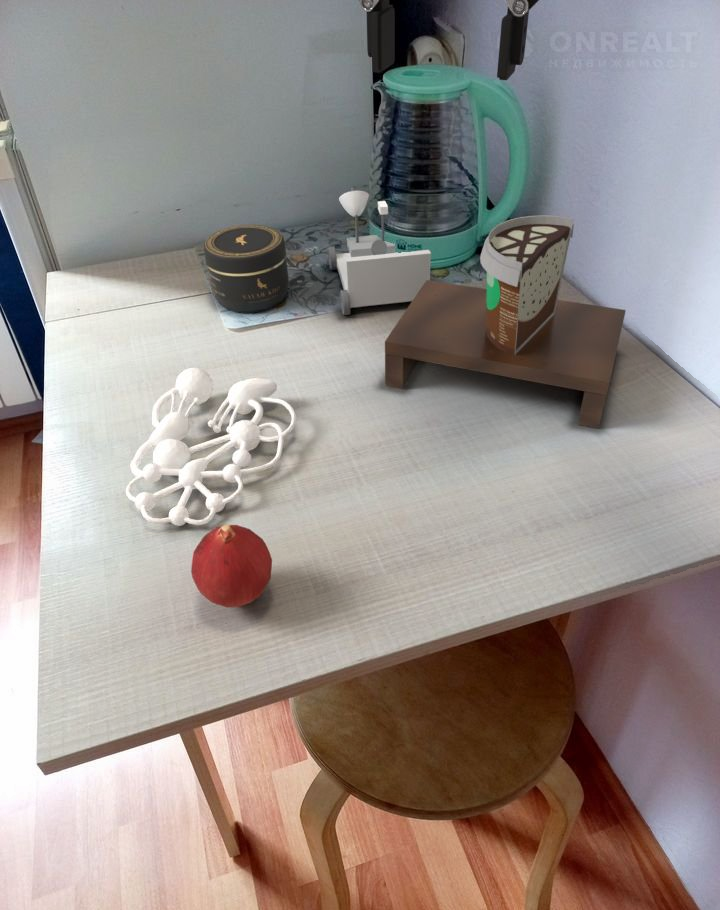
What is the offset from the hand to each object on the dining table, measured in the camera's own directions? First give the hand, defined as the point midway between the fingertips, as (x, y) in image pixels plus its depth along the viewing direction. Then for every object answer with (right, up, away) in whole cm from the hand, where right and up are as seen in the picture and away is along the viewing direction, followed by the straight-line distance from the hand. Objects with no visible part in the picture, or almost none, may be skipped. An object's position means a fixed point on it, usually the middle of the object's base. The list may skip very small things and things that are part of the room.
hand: (443, 71), depth 54 cm
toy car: (-4, -6, +39) cm, 40 cm away
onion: (-16, -40, +1) cm, 43 cm away
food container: (+9, -16, +19) cm, 27 cm away
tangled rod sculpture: (-20, -29, +14) cm, 38 cm away
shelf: (+9, -20, +23) cm, 32 cm away
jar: (-20, -9, +37) cm, 43 cm away
